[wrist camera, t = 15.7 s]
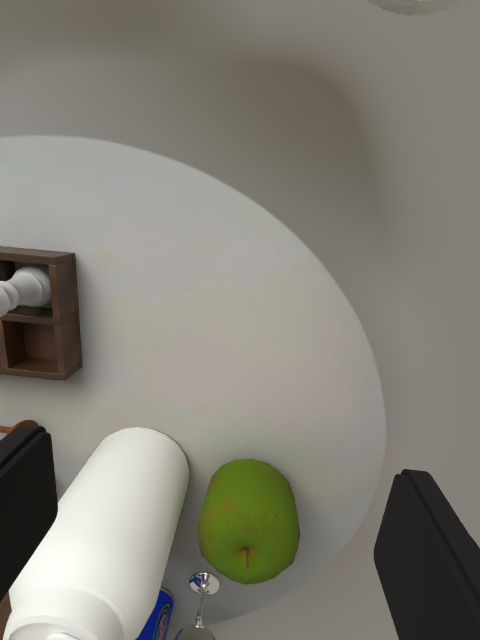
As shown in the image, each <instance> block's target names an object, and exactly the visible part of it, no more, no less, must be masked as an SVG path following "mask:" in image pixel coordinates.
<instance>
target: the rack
mask: <svg viewBox="0 0 480 640" xmlns="http://www.w3.org/2000/svg"><path fill="white" fill-rule="evenodd" d="M33 264H38V265H41V266H44V267H46V268H47V269H49V276H50V287H51V298H52V302H51V303H50V304H48V305H43V306H36V307H32V306H29V305H25V304H23V305H17V306H16V308H14V309H12V310H8V312H7V313H6V314H5V315H3V316H2V317H0V374H5V375H15V376H24V377H34V378H43V379H53V380H63V381H66V380H67V379H68V378H70V377H71V376H72V375H73V374H74V373H75V372H77V371H78V370H79V369H80V368H81V367H82V356H81V341H80V326H79V311H78V296H77V281H76V266H75V253H68V252H57V251H46V250H35V249H24V248H13V247H2V246H0V281H5V282H6V281H8V280H10V279H11V278H12V277H13V275H14V274H15V272H16V271H17V270H19V269H21V268H23V267H26V266H28V265H33Z"/></svg>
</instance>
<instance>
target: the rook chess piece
mask: <svg viewBox="0 0 480 640" xmlns="http://www.w3.org/2000/svg"><path fill="white" fill-rule="evenodd" d="M51 302H52V298H51V287H50V276H49V269H47V268H46V267H44V266H41V265H38V264H33V265H28V266H26V267H23V268H21V269H19V270H17V271H16V272H15V274H14V275H13V277H12V278H11V279H10V280H8V281H6V282H5V281H0V317H2V316H3V315H5V314H6V313H7V312H8V310H12V309H14V308H16V306H17V305H23V304H25V305H29V306H32V307H36V306H43V305H48V304H50V303H51Z"/></svg>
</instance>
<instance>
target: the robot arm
mask: <svg viewBox="0 0 480 640" xmlns="http://www.w3.org/2000/svg"><path fill="white" fill-rule="evenodd" d="M57 513H58V502H57V492H56V482H55V472H54V462H53V452H52V442H51V435H50V434H49V433H46V429H45V428H44V427H42V426H33V425H25V424H21V425H19V426H17V427H16V428H14V429H13V430H12V431H11V432H10V433H9V434H8V435H6V436H5V437H4V438H3V439H2V440H1V441H0V602H1V601H2V599H3V598H4V597H5V595H6V594H7V592H8V591H9V589H10V588H11V586H12V585H13V583H14V582H15V580H16V579H17V577H18V576H19V574H20V573H21V571H22V570H23V568H24V567H25V565H26V564H27V562H28V561H29V559H30V558H31V556H32V555H33V553H34V552H35V550H36V549H37V547H38V546H39V544H40V543H41V541H42V540H43V538H44V537H45V535H46V534H47V532H48V531H49V530H50V528H51V527H52V525H53V523H54V522H55V519H56V517H57ZM374 561H375V566H376V569H377V572H378V575H379V578H380V581H381V584H382V588H383V590H384V594H385V597H386V600H387V603H388V606H389V609H390V613H391V616H392V619H393V622H394V625H395V628H396V631H397V634H398V637H399V640H480V548H479V547H478V546H477V544H476V542H475V541H474V540H473V539H472V538H471V536H470V535H469V534H468V532H467V530H466V529H465V527H464V526H463V524H462V523H461V522H460V520H459V518H458V516H457V515H456V513H455V512H454V510H453V509H452V507H451V506H450V504H449V502H448V501H447V499H446V498H445V496H444V495H443V493H442V491H441V490H440V488H439V487H438V485H437V484H436V482H435V481H434V479H433V477H432V476H431V475H430V474H429V473H428V472H426V471H417V470H409V469H404V470H403V471H402V472H401V474H396V475H395V477H394V480H393V484H392V487H391V491H390V494H389V498H388V501H387V505H386V508H385V512H384V515H383V519H382V522H381V526H380V530H379V533H378V536H377V540H376V543H375V547H374Z"/></svg>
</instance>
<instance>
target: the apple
mask: <svg viewBox="0 0 480 640" xmlns="http://www.w3.org/2000/svg"><path fill="white" fill-rule="evenodd" d="M299 537H300V530H299V523H298V516H297V510H296V504H295V498H294V496H293V493H292V490H291V487H290V484H289V482H288V481H287V480H286V478H285V477H284V476H283V475H282V474H281V473H280V472H279V471H278V470H276V469H275V468H273V467H272V466H270V465H269V464H267V463H263V462H260V461H256V460H252V459H247V460H234V461H232V462H230V463H227V464H225V465H223V466H221V467H220V468H219V470H218V471H217V472H216V473H215V474H214V475H213V476H212V478H211V482H210V485H209V488H208V491H207V494H206V497H205V500H204V503H203V506H202V510H201V513H200V518H199V523H198V541H199V546H200V550H201V554H202V556H203V557H204V558H205V559H206V560H207V561H208V562H209V563H210V564H211V565H212V566H213V567H214V568H215V569H216V570H217V571H219V572H220V573H221V574H223V575H224V576H226V577H227V578H229V579H230V580H233V581H236V582H239V583H242V584H254V583H261V582H264V581H267V580H270V579H273V578H275V577H276V576H277V575H278V574H280V573H281V572H282V571H284V570H285V569H286V568H287V567H289V566H290V565H291V564H293V561H294V558H295V555H296V553H297V550H298V544H299Z"/></svg>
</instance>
